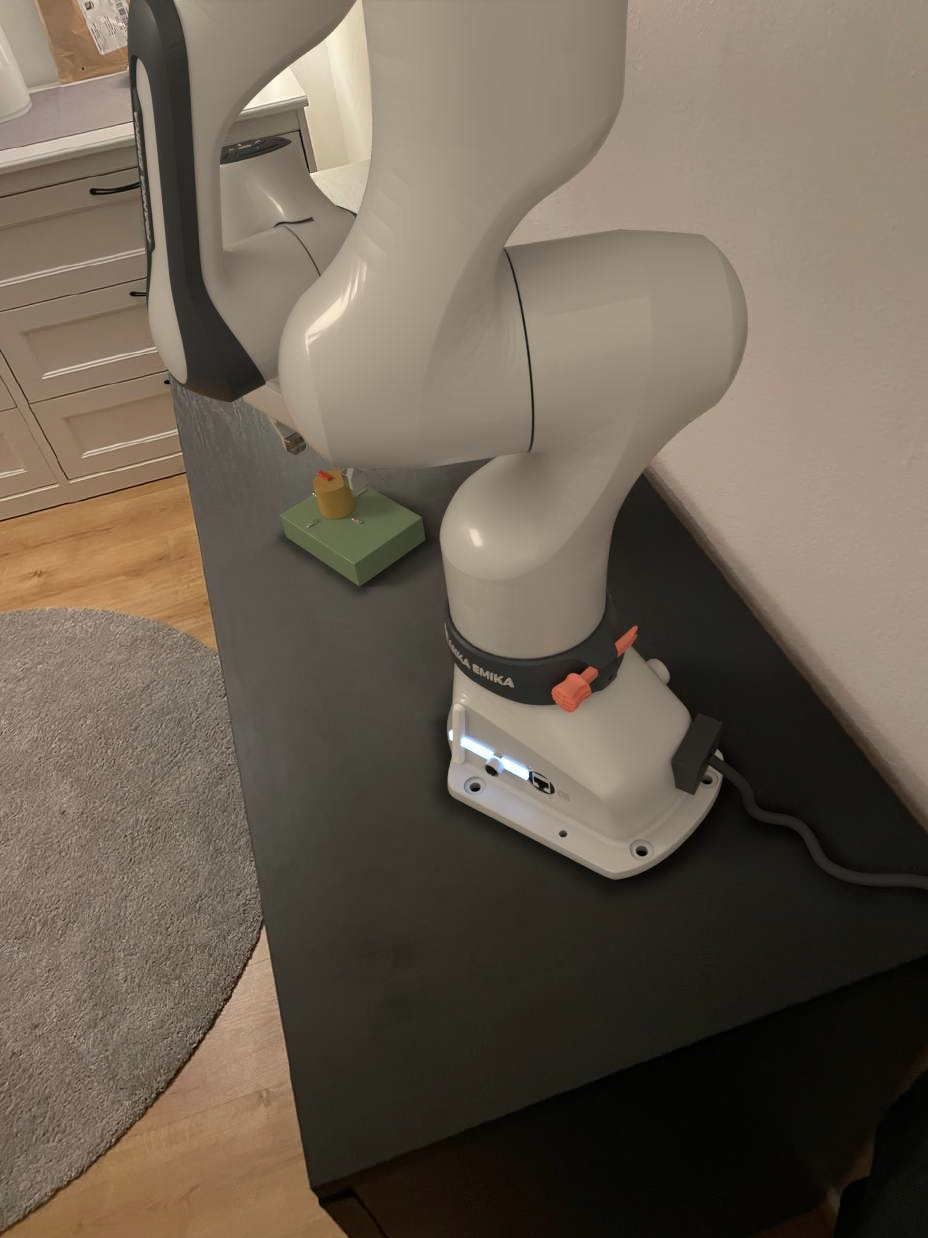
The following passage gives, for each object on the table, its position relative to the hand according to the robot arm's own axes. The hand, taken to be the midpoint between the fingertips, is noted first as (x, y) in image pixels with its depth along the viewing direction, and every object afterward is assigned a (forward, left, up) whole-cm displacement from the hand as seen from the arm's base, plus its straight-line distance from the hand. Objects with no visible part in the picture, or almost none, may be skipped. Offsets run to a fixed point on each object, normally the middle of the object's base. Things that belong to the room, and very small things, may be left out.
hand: (325, 467), depth 88 cm
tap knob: (0, 0, -5) cm, 5 cm away
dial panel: (-2, 0, -8) cm, 8 cm away
